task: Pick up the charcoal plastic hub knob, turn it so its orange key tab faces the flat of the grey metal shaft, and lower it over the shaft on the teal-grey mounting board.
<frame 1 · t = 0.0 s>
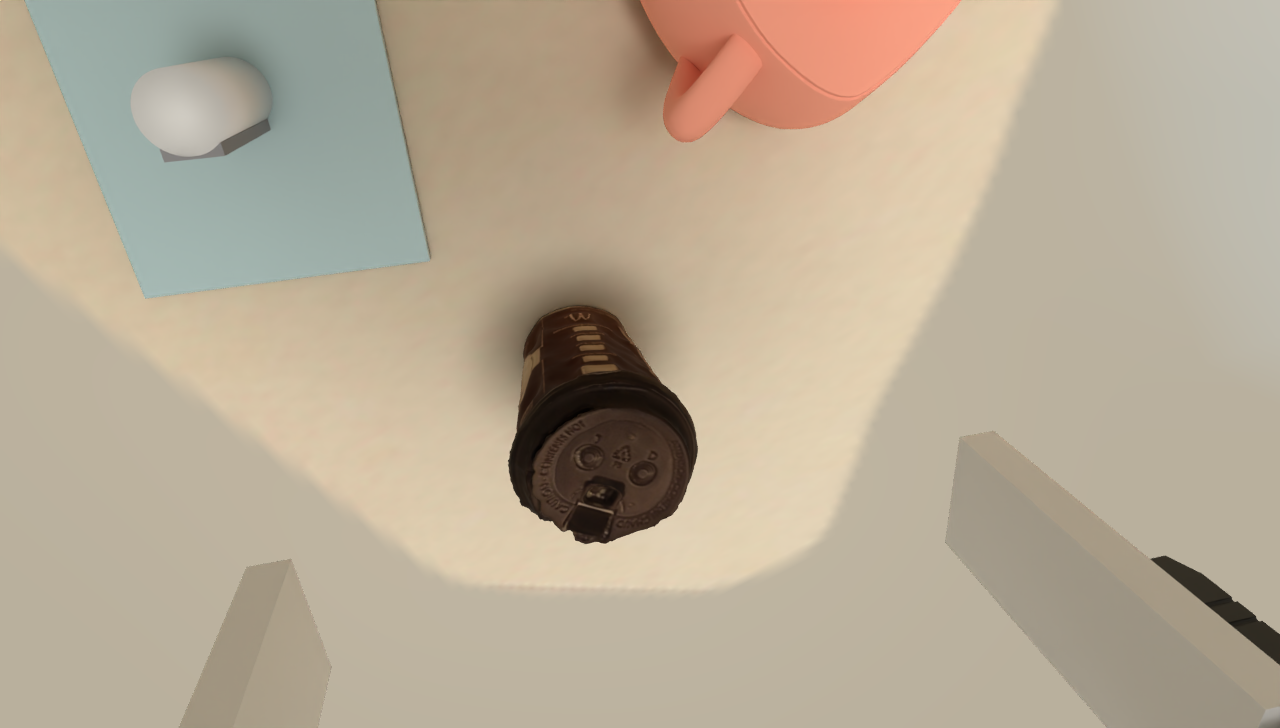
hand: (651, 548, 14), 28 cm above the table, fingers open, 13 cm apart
board: (238, 93, 34), on the table
coffee cup: (575, 353, 43), on the table
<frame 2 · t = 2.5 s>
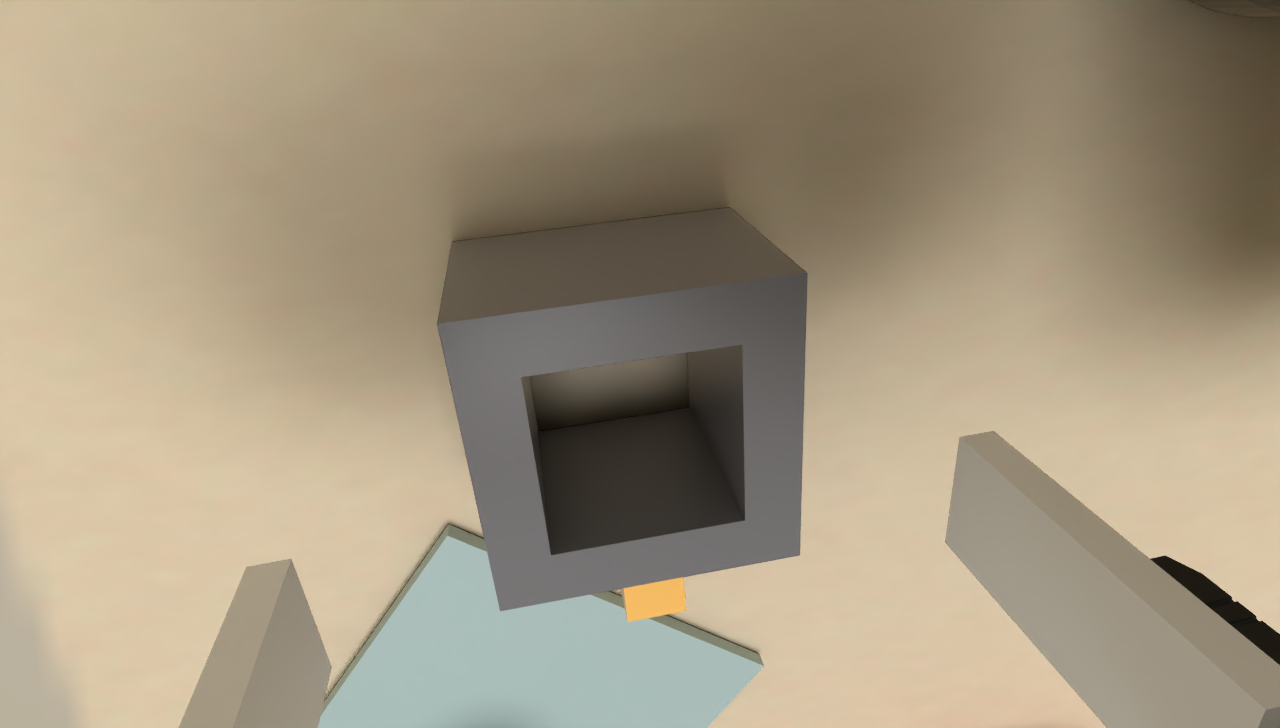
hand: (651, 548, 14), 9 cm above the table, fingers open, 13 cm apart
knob: (607, 350, 23), on the table
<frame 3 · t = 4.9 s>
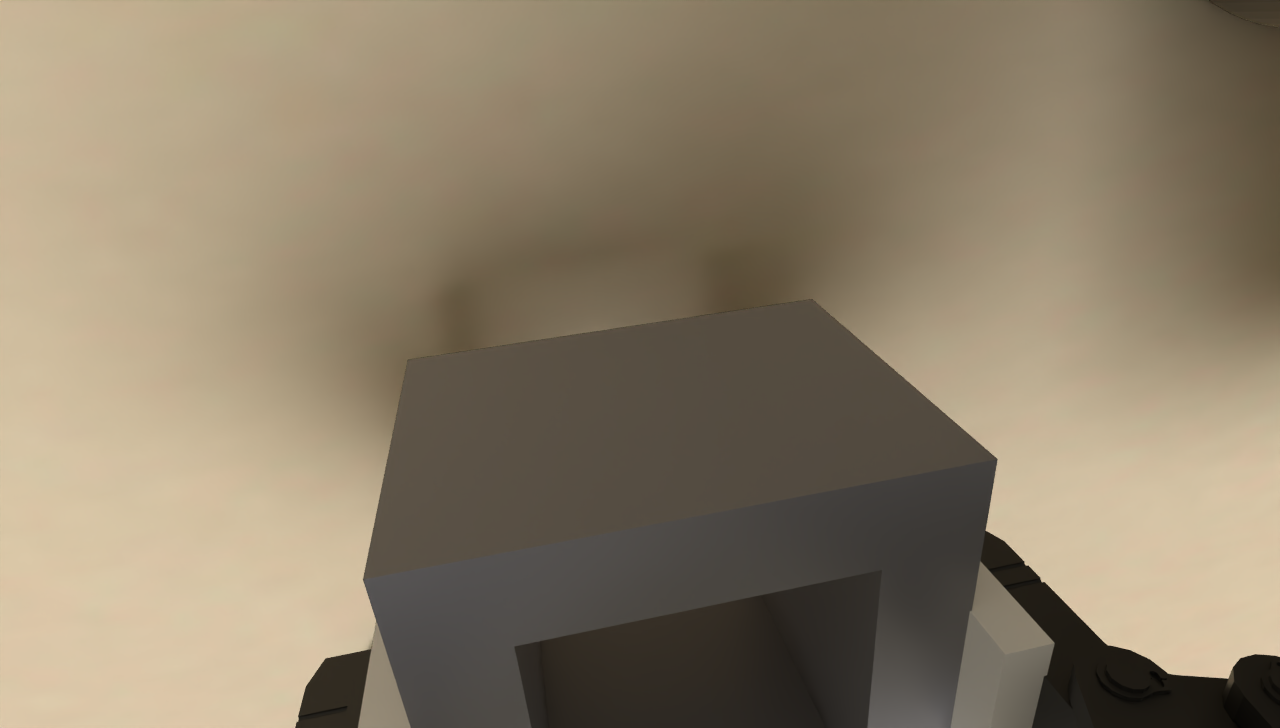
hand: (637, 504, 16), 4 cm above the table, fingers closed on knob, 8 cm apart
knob: (634, 495, 16), point 4 cm above the table, touching gripper
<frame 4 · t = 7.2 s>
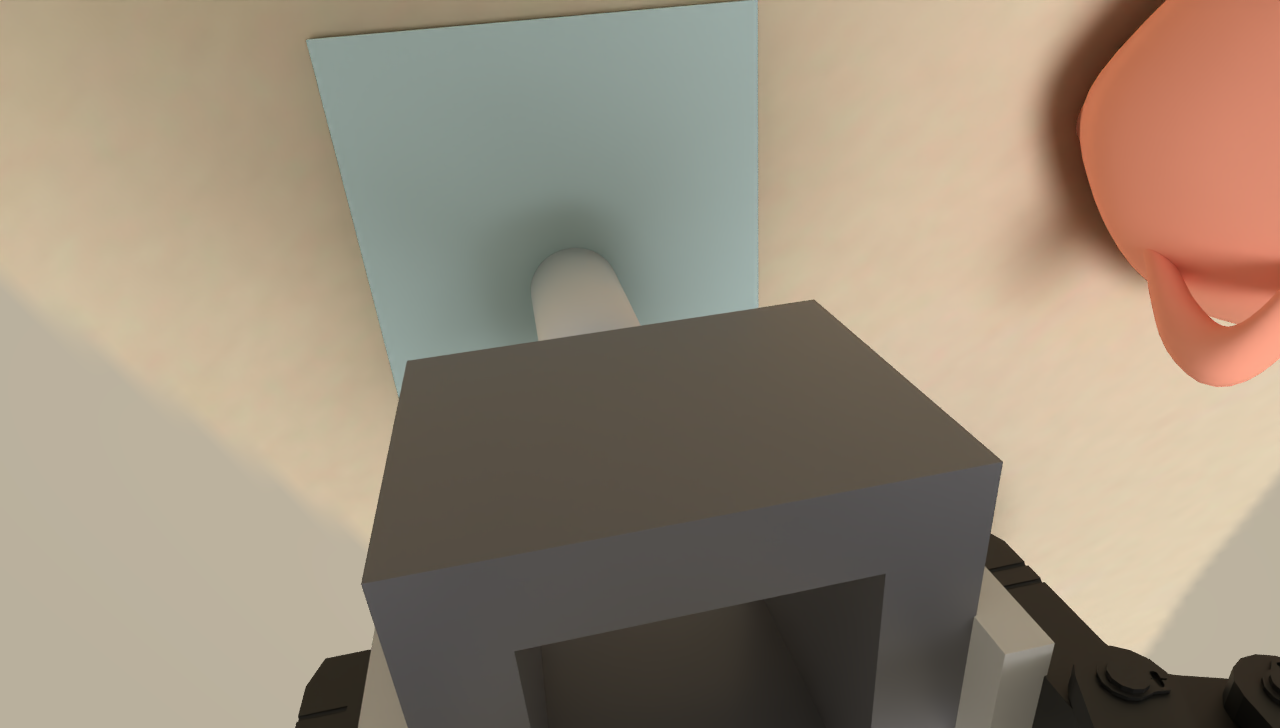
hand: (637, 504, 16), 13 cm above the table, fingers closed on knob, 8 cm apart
board: (573, 284, 27), on the table
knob: (635, 496, 16), point 13 cm above the table, touching gripper
teapot: (1207, 98, 29), on the table
when the fingers open (2 cm above the table, at t = 9.7 s): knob stays where it is, resting on board.
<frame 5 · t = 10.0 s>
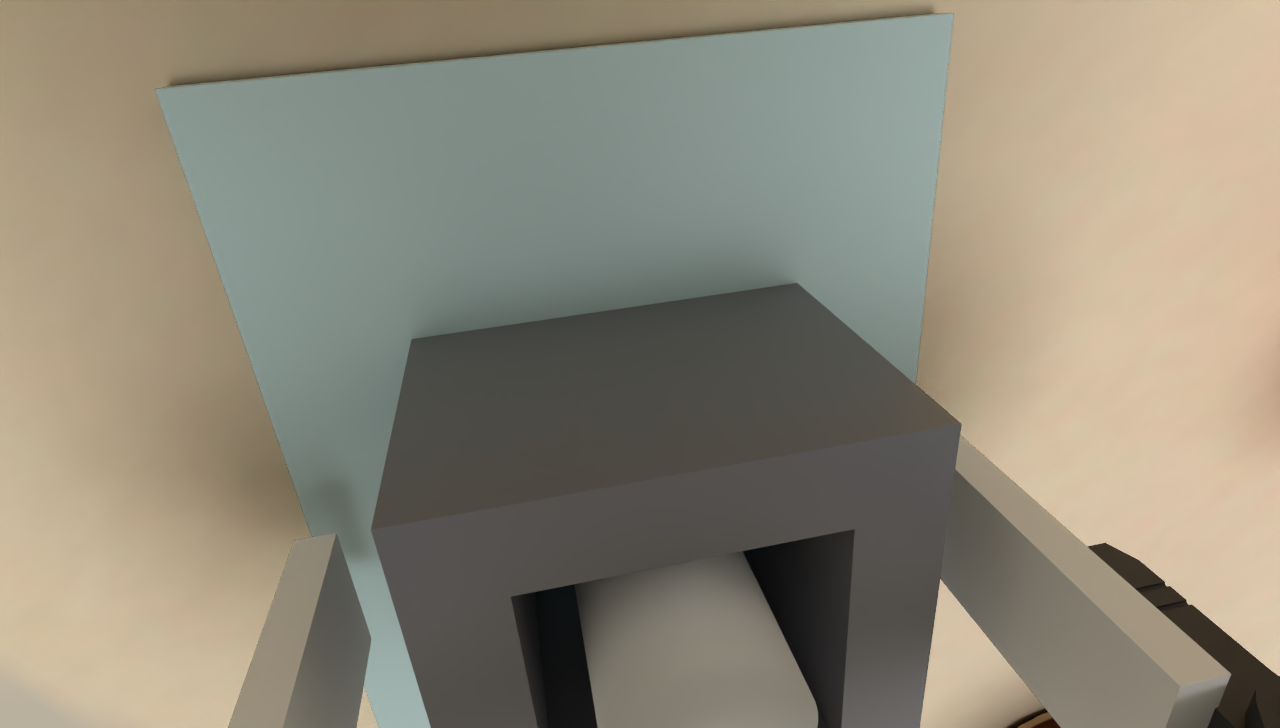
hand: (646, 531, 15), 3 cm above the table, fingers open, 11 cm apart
board: (623, 460, 17), on the table
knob: (627, 471, 17), point 1 cm above the table, touching board
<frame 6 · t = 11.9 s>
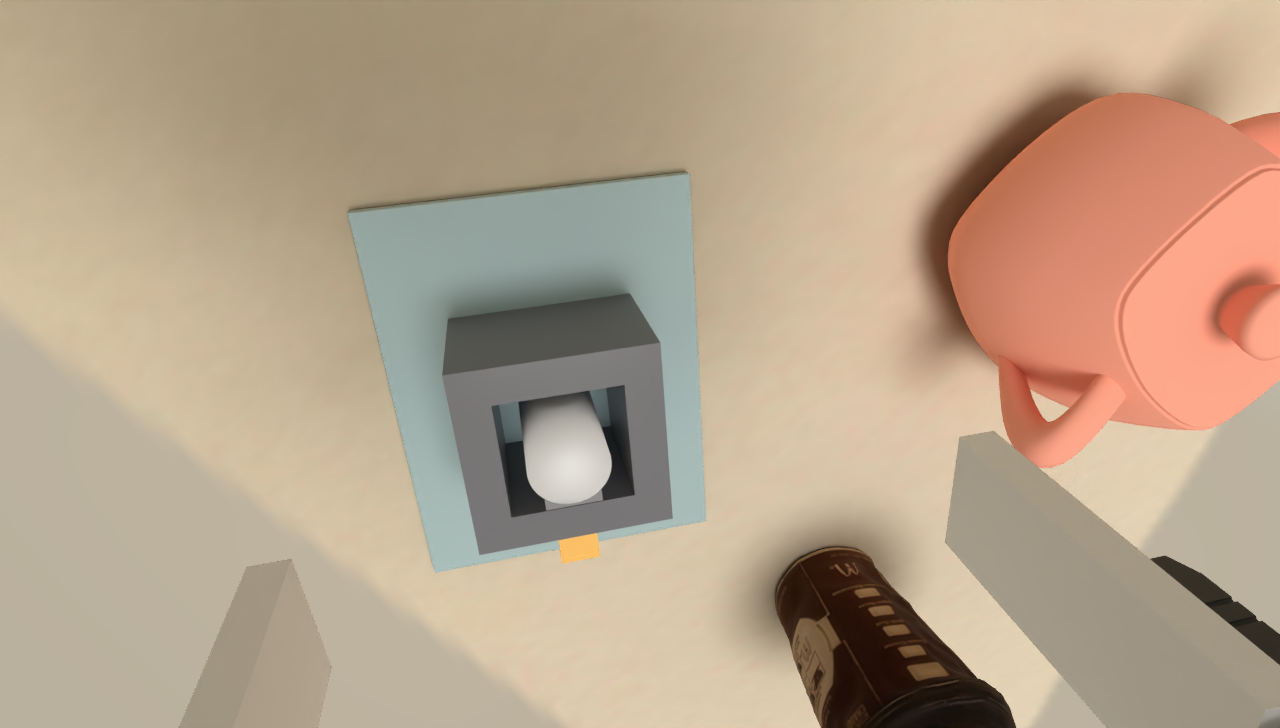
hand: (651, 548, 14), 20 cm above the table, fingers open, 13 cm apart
board: (550, 383, 34), on the table
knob: (552, 387, 34), point 1 cm above the table, touching board
teapot: (1054, 229, 37), on the table
coffee cup: (820, 588, 43), on the table
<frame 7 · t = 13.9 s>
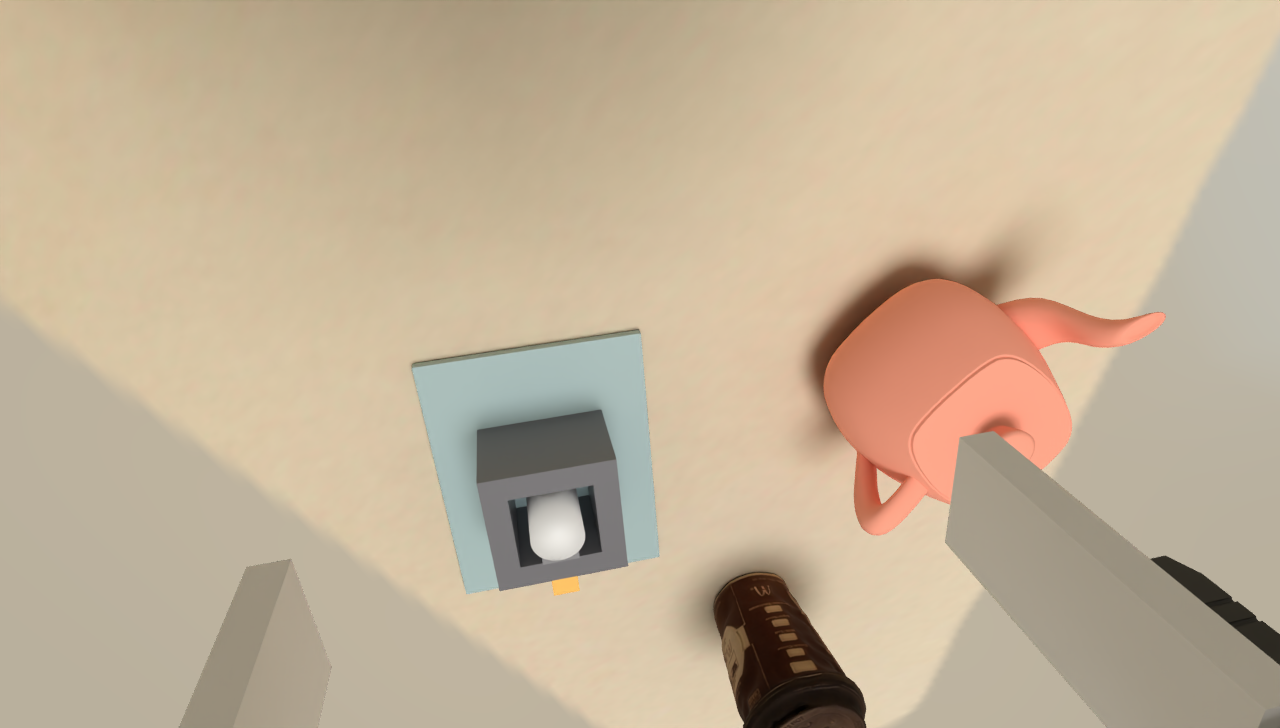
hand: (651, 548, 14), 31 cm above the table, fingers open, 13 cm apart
board: (547, 467, 49), on the table
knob: (548, 471, 49), point 1 cm above the table, touching board
teapot: (909, 353, 51), on the table
coffee cup: (748, 601, 59), on the table
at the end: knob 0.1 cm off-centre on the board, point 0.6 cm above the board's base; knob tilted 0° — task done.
